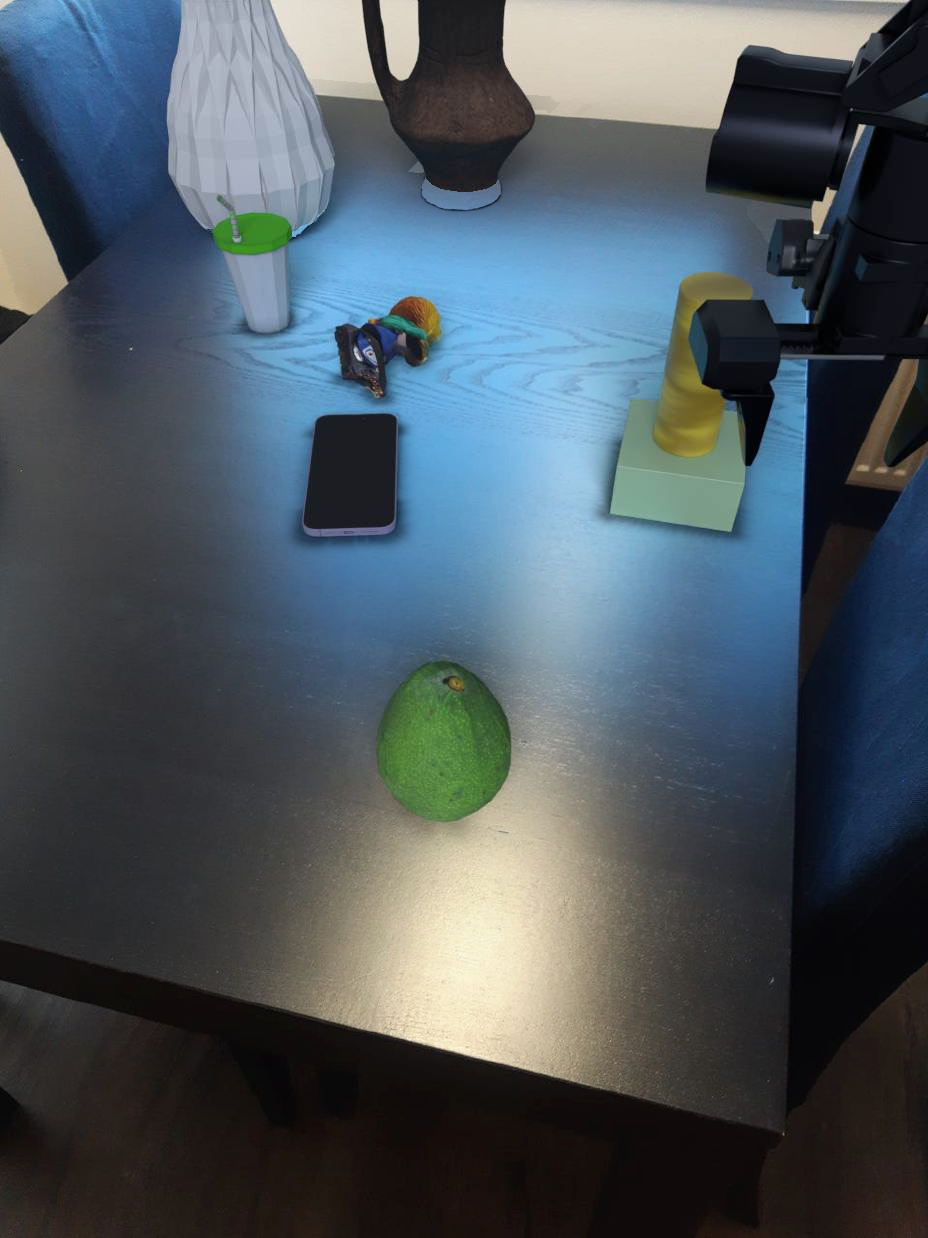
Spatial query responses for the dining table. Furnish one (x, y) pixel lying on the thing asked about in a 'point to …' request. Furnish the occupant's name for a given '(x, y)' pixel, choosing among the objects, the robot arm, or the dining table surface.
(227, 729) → the dining table surface
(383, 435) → the smartphone
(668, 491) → the green block
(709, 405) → the yellow tumbler
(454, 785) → the fruit
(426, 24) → the jug
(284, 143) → the vase
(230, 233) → the cup
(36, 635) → the dining table surface
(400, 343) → the figurine
